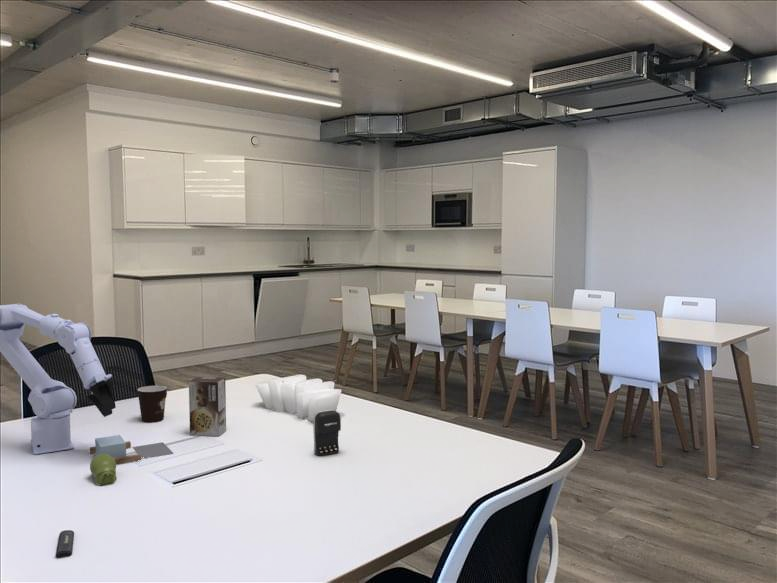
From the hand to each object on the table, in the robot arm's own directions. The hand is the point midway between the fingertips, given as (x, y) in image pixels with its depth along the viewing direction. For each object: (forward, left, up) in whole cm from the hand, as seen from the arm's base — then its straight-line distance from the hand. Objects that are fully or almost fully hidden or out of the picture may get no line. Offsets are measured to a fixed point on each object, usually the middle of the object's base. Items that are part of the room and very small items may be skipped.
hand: (110, 412), depth 162 cm
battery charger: (+49, -28, -12) cm, 57 cm away
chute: (+1, -1, -12) cm, 12 cm away
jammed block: (0, -1, -12) cm, 12 cm away
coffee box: (+28, +7, -12) cm, 31 cm away
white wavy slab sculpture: (+61, +15, -12) cm, 64 cm away
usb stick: (-16, -48, -12) cm, 52 cm away
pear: (-4, -16, -12) cm, 20 cm away
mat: (+10, -1, -12) cm, 16 cm away
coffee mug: (+19, +30, -12) cm, 38 cm away
